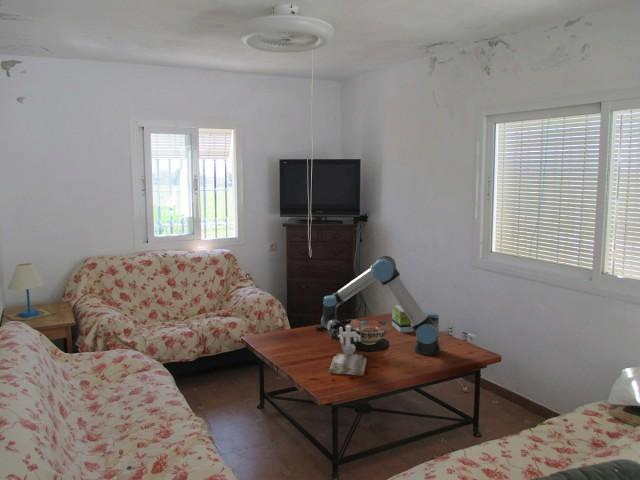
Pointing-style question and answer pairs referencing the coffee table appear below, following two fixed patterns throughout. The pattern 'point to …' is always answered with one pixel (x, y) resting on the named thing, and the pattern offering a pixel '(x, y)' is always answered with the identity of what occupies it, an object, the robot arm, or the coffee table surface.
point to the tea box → (400, 320)
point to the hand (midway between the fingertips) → (351, 340)
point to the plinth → (346, 370)
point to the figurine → (348, 340)
